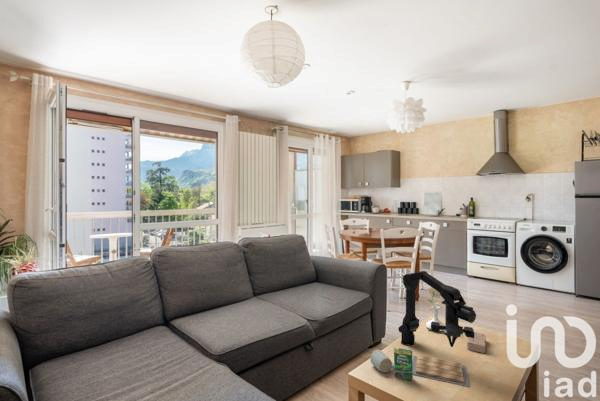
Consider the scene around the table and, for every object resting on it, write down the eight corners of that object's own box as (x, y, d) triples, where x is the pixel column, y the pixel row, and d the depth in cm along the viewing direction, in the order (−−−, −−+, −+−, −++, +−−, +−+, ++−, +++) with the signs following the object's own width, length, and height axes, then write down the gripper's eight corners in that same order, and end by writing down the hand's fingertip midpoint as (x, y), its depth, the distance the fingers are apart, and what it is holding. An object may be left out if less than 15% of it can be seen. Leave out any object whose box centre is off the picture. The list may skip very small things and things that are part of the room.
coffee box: (393, 376, 143) (393, 348, 143) (394, 373, 146) (394, 346, 145) (411, 381, 139) (411, 353, 139) (412, 378, 142) (413, 350, 141)
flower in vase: (450, 331, 187) (450, 290, 187) (434, 334, 184) (434, 292, 183) (435, 322, 200) (435, 284, 199) (420, 325, 197) (420, 286, 196)
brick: (468, 337, 180) (469, 329, 180) (485, 341, 176) (485, 333, 176) (466, 350, 166) (467, 342, 166) (485, 354, 162) (485, 346, 162)
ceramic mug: (380, 375, 144) (380, 359, 144) (369, 366, 152) (370, 350, 152) (398, 370, 148) (398, 354, 148) (387, 361, 156) (387, 346, 156)
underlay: (410, 374, 145) (410, 373, 145) (413, 356, 160) (413, 355, 160) (469, 386, 135) (469, 386, 135) (465, 366, 151) (465, 365, 151)
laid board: (415, 373, 145) (415, 370, 145) (416, 365, 151) (416, 363, 151) (463, 383, 137) (463, 380, 137) (462, 375, 143) (462, 372, 143)
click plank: (416, 365, 152) (416, 362, 151) (417, 356, 158) (417, 354, 158) (462, 374, 143) (462, 372, 143) (461, 365, 150) (461, 363, 150)
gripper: (430, 318, 146) (430, 350, 147) (475, 325, 139) (475, 359, 139) (431, 309, 156) (430, 340, 157) (473, 315, 149) (472, 347, 149)
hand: (451, 346), depth 150 cm, fingers closed
